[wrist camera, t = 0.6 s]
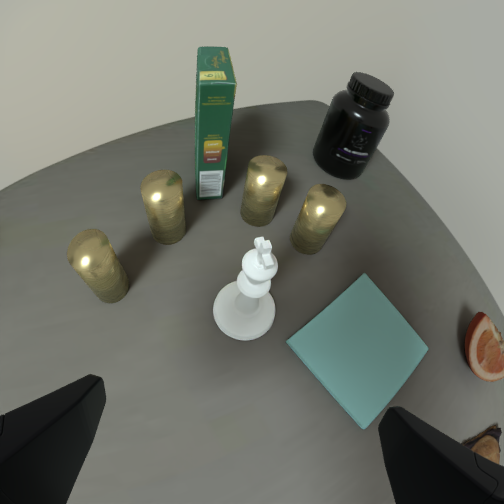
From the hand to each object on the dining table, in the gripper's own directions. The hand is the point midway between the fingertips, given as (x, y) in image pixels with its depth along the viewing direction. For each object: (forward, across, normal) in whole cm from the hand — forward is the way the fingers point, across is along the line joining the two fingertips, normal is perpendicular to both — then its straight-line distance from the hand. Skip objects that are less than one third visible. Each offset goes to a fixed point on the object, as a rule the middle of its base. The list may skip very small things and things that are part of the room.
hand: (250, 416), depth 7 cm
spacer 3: (+22, 0, -4) cm, 22 cm away
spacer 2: (+20, +7, -1) cm, 21 cm away
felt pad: (+14, -11, +5) cm, 18 cm away
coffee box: (+25, +5, -7) cm, 26 cm away
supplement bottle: (+29, -10, -11) cm, 33 cm away
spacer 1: (+15, +11, +3) cm, 19 cm away
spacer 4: (+20, -5, -2) cm, 21 cm away
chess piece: (+15, 0, +4) cm, 16 cm away
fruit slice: (+13, -26, +6) cm, 30 cm away
